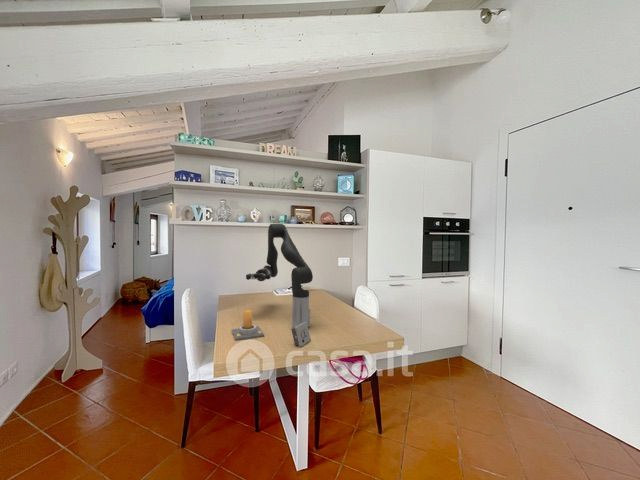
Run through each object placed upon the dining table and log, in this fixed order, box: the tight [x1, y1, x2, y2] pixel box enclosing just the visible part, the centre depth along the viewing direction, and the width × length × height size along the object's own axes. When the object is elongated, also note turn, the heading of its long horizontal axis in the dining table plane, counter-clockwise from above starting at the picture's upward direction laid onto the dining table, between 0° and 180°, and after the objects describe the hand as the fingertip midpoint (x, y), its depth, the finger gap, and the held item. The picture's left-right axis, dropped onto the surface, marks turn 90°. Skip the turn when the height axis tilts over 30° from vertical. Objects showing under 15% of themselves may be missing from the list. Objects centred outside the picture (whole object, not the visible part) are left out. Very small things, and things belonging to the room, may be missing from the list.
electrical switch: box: [291, 322, 312, 348], centre depth 130 cm, size 9×5×9 cm, turn 152°
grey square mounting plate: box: [231, 324, 265, 342], centre depth 140 cm, size 14×14×4 cm
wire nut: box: [242, 309, 253, 329], centre depth 140 cm, size 4×4×11 cm
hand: (254, 278), depth 160 cm, fingers open, 8 cm apart
